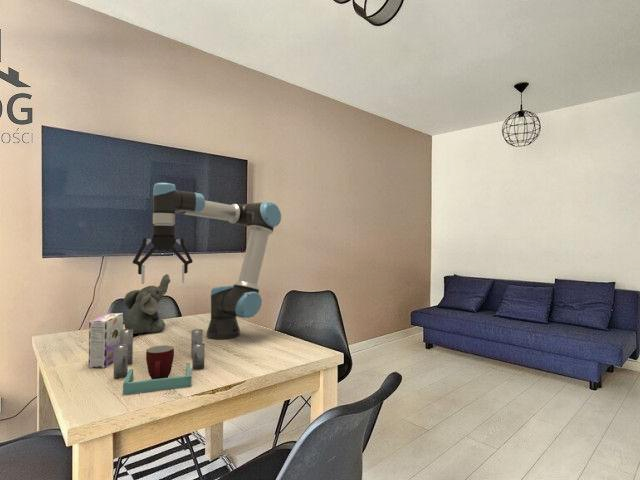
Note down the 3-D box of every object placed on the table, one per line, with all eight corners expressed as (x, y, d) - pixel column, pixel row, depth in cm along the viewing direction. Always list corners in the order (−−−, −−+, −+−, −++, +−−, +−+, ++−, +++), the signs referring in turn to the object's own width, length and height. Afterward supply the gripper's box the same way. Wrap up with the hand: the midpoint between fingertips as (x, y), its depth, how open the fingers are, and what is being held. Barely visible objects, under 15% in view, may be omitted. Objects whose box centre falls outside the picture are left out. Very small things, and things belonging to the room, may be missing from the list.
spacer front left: (204, 365, 129) (204, 342, 129) (204, 368, 125) (204, 345, 125) (192, 366, 128) (192, 343, 128) (192, 370, 124) (192, 346, 124)
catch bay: (190, 371, 123) (190, 362, 123) (191, 386, 110) (191, 376, 110) (129, 378, 116) (129, 369, 116) (122, 394, 104) (123, 384, 104)
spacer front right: (128, 373, 120) (128, 343, 120) (126, 377, 117) (127, 346, 117) (114, 374, 119) (115, 344, 119) (112, 379, 115) (112, 347, 115)
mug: (174, 386, 110) (174, 353, 110) (144, 390, 107) (145, 356, 107) (173, 374, 120) (173, 344, 120) (146, 377, 117) (146, 346, 117)
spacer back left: (202, 354, 141) (202, 328, 141) (202, 357, 137) (202, 331, 137) (191, 355, 140) (191, 329, 140) (191, 358, 136) (191, 332, 136)
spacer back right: (133, 361, 133) (133, 328, 133) (131, 364, 129) (132, 331, 129) (120, 362, 131) (121, 329, 131) (119, 366, 127) (119, 332, 127)
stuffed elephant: (171, 325, 189) (171, 273, 189) (159, 336, 168) (160, 277, 168) (131, 326, 186) (132, 274, 186) (115, 337, 165) (116, 278, 165)
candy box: (107, 355, 139) (108, 312, 139) (123, 355, 139) (124, 312, 139) (87, 368, 125) (88, 320, 125) (105, 368, 125) (106, 320, 126)
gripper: (199, 226, 142) (198, 280, 141) (127, 224, 133) (126, 282, 133) (200, 225, 135) (199, 282, 134) (124, 224, 126) (123, 285, 126)
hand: (163, 282), depth 133 cm, fingers open, 13 cm apart
